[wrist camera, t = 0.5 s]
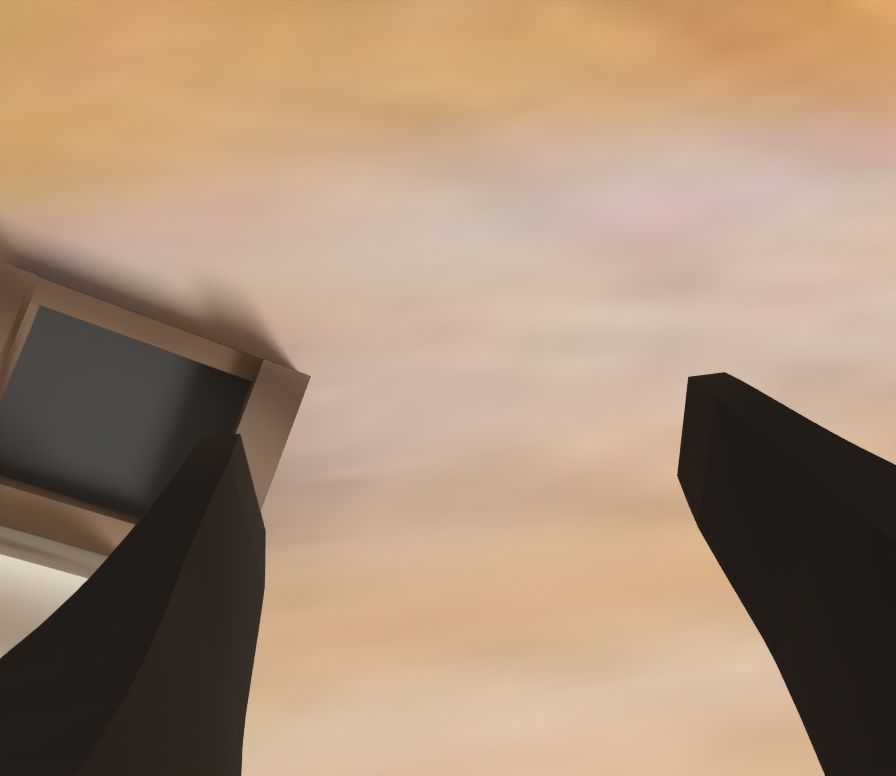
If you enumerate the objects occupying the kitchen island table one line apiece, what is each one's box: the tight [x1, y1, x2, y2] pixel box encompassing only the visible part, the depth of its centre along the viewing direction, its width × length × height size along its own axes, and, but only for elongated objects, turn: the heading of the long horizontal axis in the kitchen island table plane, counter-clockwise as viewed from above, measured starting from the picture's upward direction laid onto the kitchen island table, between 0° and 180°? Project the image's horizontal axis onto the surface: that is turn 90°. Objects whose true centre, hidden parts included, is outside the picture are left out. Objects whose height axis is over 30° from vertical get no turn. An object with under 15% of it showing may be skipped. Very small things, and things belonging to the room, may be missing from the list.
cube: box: [0, 526, 108, 658], centre depth 29 cm, size 5×5×4 cm
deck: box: [0, 261, 311, 556], centre depth 32 cm, size 26×13×3 cm, turn 160°
